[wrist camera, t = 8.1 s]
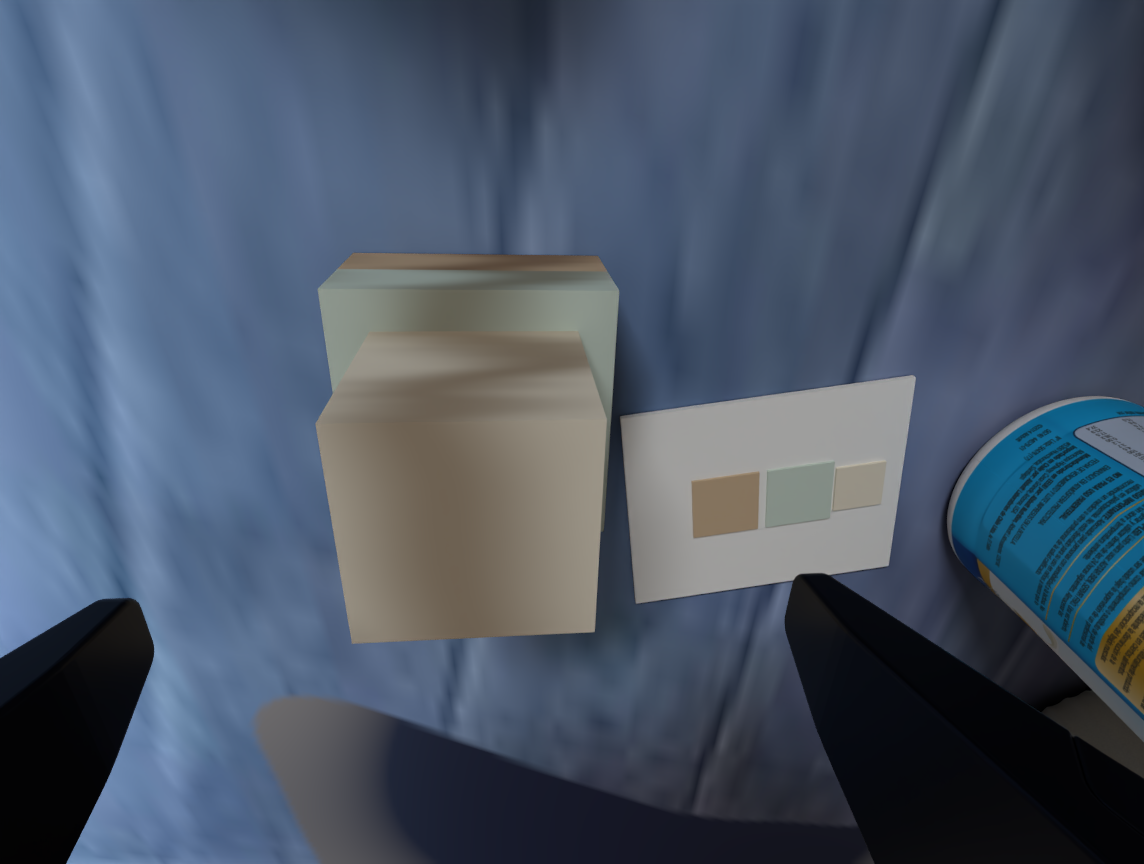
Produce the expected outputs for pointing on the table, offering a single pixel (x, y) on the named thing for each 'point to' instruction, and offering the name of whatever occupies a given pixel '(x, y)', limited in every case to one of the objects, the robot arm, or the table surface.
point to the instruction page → (764, 487)
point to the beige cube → (466, 485)
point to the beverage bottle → (1066, 537)
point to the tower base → (473, 304)
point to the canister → (1099, 728)
